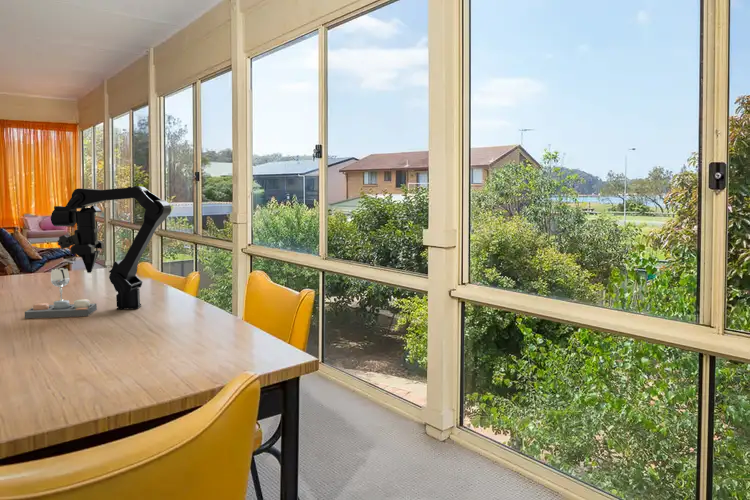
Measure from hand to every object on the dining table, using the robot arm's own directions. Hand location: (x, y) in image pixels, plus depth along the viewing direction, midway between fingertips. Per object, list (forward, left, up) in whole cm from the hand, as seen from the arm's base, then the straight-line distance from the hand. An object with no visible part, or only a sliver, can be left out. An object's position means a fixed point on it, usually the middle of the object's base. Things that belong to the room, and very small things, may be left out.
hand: (89, 272), depth 190 cm
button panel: (+6, +9, -12) cm, 16 cm away
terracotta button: (+12, +9, -11) cm, 19 cm away
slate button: (+6, +9, -10) cm, 15 cm away
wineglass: (+12, -10, -12) cm, 20 cm away
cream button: (0, +9, -10) cm, 14 cm away
